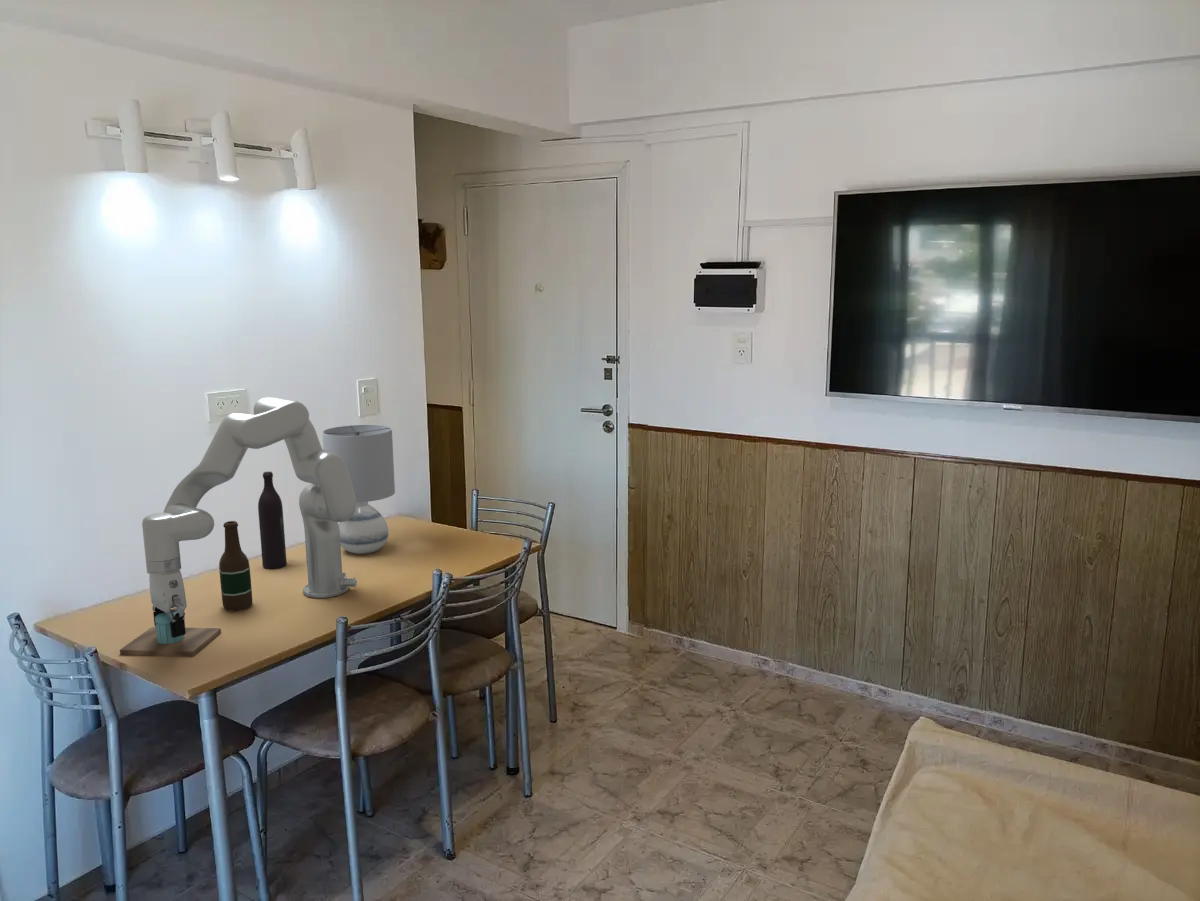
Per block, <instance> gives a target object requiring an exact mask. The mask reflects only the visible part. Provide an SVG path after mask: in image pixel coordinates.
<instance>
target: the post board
mask: <svg viewBox="0 0 1200 901" xmlns="http://www.w3.org/2000/svg"><path fill="white" fill-rule="evenodd" d="M221 629H222V628H219V627H218V628H217V627H215V628H213V627H185V631H186V634H185V635H184V638H183V639H182V640H181V641H178V642H175V643H170V644H161V643H158V642H157V633H156V627H155V626H151V627H150V628H148V629H146V630H145V631H144V632H142V633H141V634H140V635H139V636H137V637H136V638H134V639H133V640H132V641H130V642H129V643H127V644H126V645H124V646H123V647H121V648H120V649H119V655H121V656H122V655H123V656H128V655H129V656H167V657H169V656H170V657H171V656H172V657H195V655H197V654H198V653H199V652H200V651H201V650H203V649H204V648H205V647H206V646H207V645H209V643H211V642H212V641H213V640H214V639H216V638H217V637H218V636H219V635H221V633H222V630H221Z"/></svg>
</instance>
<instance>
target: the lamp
mask: <svg viewBox="0 0 1200 901" xmlns="http://www.w3.org/2000/svg"><path fill="white" fill-rule="evenodd" d="M321 436H322V449H323V450H324V451H327V452H332V453H335V454H337V455H339V456H340V457H341V458H342V459H343V460H344V462H345V463H346V465H347V468H348V471H349V475H350V478H351V482H352V486H353V489H354V493H355V497H356V510H355V512H354V514H353V516H352V517H351V518H350V519H349V520H347V521H344V522H338V525H339V529H340V545H341V549H343V550H345V551H347V552H348V553H351V554H353V555H356V554H357V555H365V554H366V555H368V554H371V553H376V552H377V551H379V550H381V549H382V548H383V547H384V546H385V544H386V543H388V539H389V534H390V533H389V527H388V524H387V521H386V518H385V517H384V516H383V514H381V512H379V510H377V509H376V508H375V507H373V506H371V505H370V504H369V502H375V501H381V500H384V499H387V498H390V497H392V496H394V495H395V492H396V488H395V487H396V485H395V467H394V466H395V465H394V445H393V444H394V443H393V429H392V427H391V426H387V425H384V424H383V425H382V424H348V425H341V426H333V427H329V428H325V429H324V430H322V435H321Z"/></svg>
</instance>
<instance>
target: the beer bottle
mask: <svg viewBox="0 0 1200 901" xmlns="http://www.w3.org/2000/svg"><path fill="white" fill-rule="evenodd" d="M238 527H239V523H238V522H237V521H236V520H230V521H229V520H228V521H225V522H224V523H223V528H224V552H223V553H222V554H221V557H220V559H219V563H218V564H219V565H218V568H219V570H218V572H219V581H220V589H221V591H220V592H221V600H222V606H223V608H224V609H225V611H229V612H238V611H242V610H246V609H248V608H250V607H252V606H253V590H252V577H251V568H250V560H249V558H248V556H247V555H246V554H245V553H244V551H243V550H242V548H241V543H240V537H239V531H238Z"/></svg>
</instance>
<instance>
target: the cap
mask: <svg viewBox="0 0 1200 901" xmlns="http://www.w3.org/2000/svg"><path fill="white" fill-rule="evenodd" d="M176 613H177V612H174V613H173V614H174V616H175V614H176ZM170 622H172V621H171V618H170V616H169V613H166V612H165V613H161V614H159V615H157V616H156V617H155V624H156V633H157V642H158V643H161V644H170V643H175V642H178V641H181V640H182V639H183V638H184V635H182V636H178V637H175V638H173V637H171V628H170Z"/></svg>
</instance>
